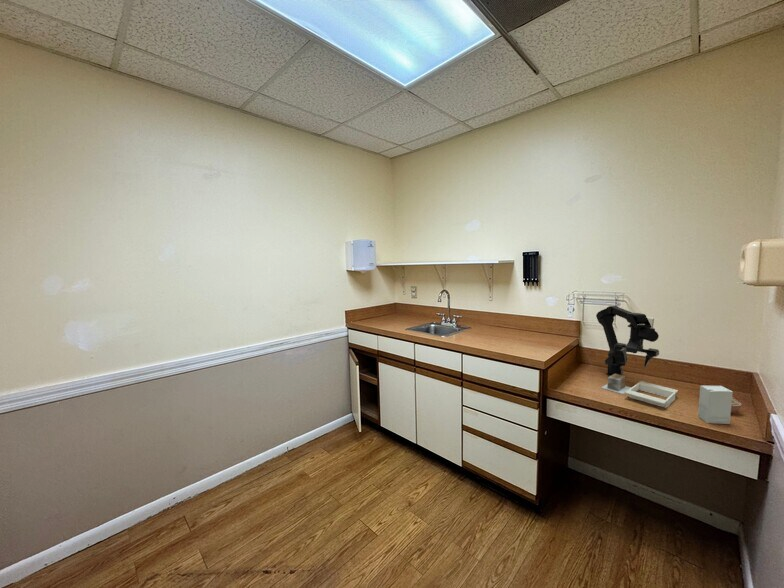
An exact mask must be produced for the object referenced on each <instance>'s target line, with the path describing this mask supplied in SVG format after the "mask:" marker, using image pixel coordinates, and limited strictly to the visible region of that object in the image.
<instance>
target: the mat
mask: <svg viewBox="0 0 784 588" xmlns="http://www.w3.org/2000/svg"><path fill="white" fill-rule="evenodd" d="M607 387H608V383H606V384H604V385H603V386H601V387H600V388H601V389H603V390H605V391H610V392H613V393H616V394H620V395H624V394H626V393H625V392H626V391H628V390H629V389H630V388H632V386H627V385H625V387H624V388H622V389H621V390H619V391H615V390H612V389H608V388H607Z"/></svg>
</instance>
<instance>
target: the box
mask: <svg viewBox="0 0 784 588" xmlns="http://www.w3.org/2000/svg"><path fill="white" fill-rule="evenodd" d="M607 384H608V387H607V388H608V389H612V390H615V391H619V390H621V389H622V388H624V387H625V386H626V375H619V374H613V375H609V376H608V378H607Z"/></svg>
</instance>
